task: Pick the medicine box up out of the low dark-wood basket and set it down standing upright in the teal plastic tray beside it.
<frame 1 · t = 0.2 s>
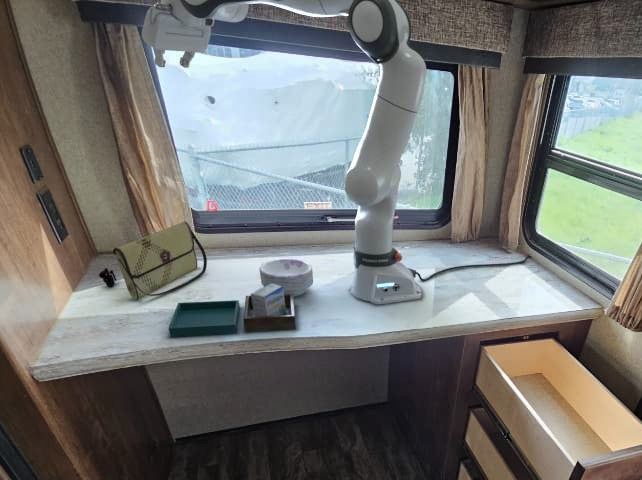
hand: (172, 66, 113), 54 cm above the table, tool tilted 30°, fingers open, 8 cm apart
medicine box: (271, 319, 119), resting in basket
paper bowls: (288, 291, 134), on the table
wireless earbuds: (109, 286, 126), on the table
tray: (208, 322, 115), on the table
basket: (271, 318, 119), on the table
clutch purse: (174, 284, 131), on the table
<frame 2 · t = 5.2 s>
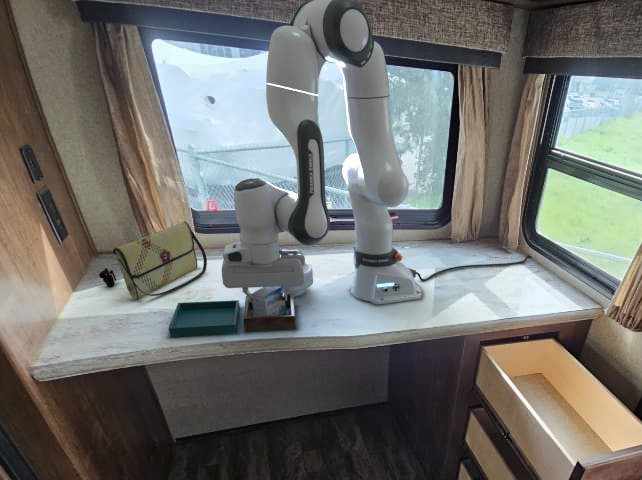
hand: (268, 300, 116), 5 cm above the table, tool pointing down, fingers closed on medicine box, 7 cm apart
medicine box: (271, 319, 119), resting in basket, touching gripper
everything else where it was.
when the fingers open (6 cm above the table, at t = 11.5 s): medicine box stays where it is, resting on tray.
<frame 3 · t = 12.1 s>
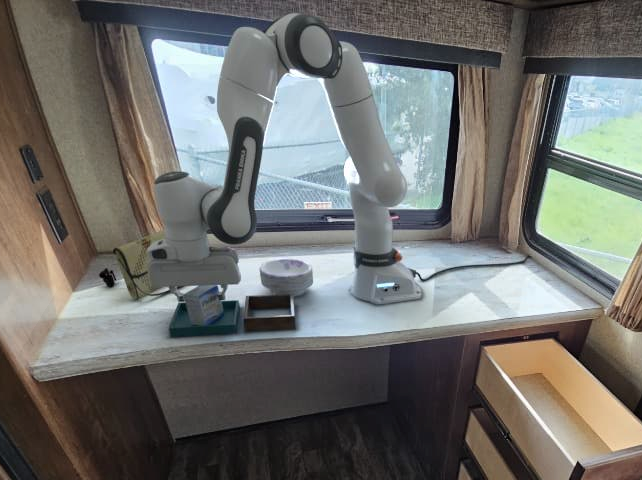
hand: (202, 300, 111), 6 cm above the table, tool pointing down, fingers open, 8 cm apart
medicine box: (208, 320, 115), resting on tray
everything else where it was.
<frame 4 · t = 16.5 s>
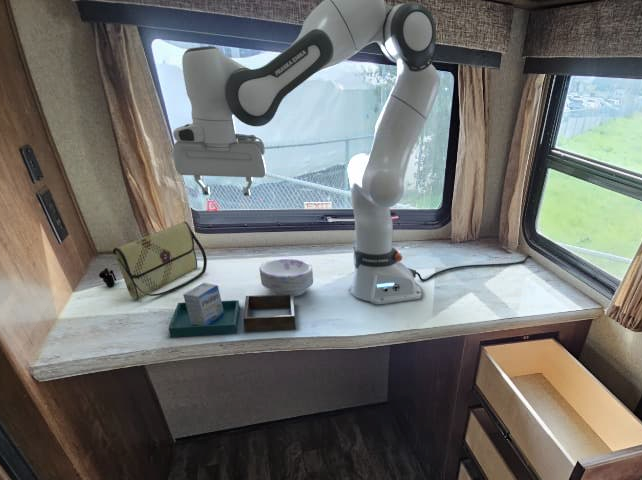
hand: (227, 195, 109), 29 cm above the table, tool pointing down, fingers open, 8 cm apart
nothing on the table moved.
at the end: medicine box inside the target area in the tray (0.4 cm from its centre), point 0.4 cm above the tray's base; medicine box tilted 0°; the gripper is holding nothing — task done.
